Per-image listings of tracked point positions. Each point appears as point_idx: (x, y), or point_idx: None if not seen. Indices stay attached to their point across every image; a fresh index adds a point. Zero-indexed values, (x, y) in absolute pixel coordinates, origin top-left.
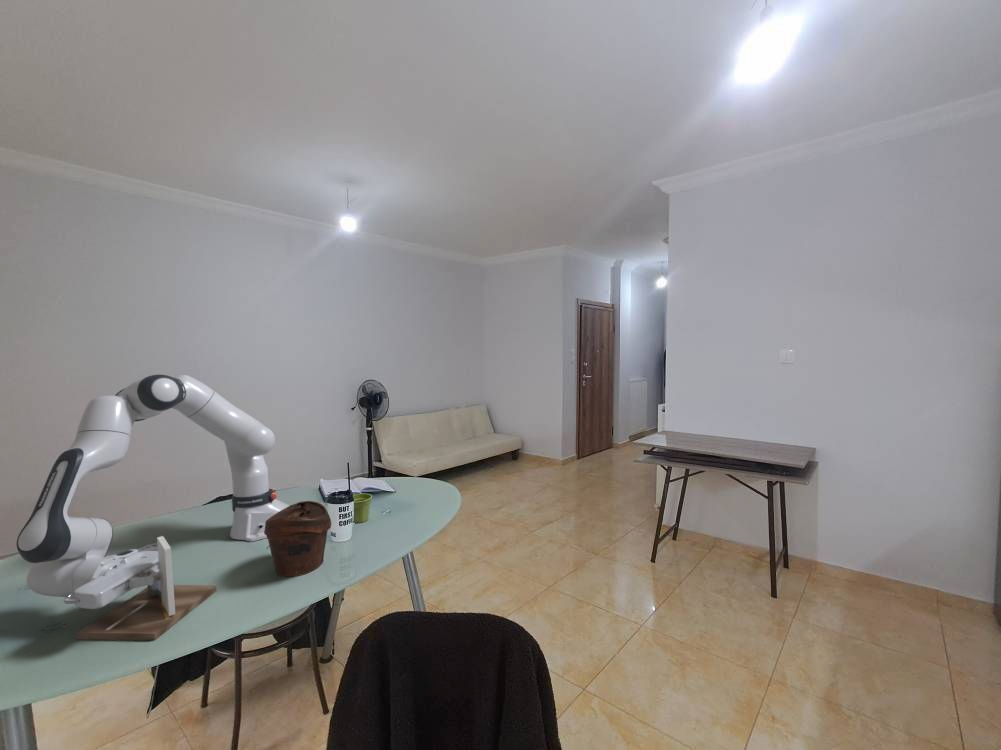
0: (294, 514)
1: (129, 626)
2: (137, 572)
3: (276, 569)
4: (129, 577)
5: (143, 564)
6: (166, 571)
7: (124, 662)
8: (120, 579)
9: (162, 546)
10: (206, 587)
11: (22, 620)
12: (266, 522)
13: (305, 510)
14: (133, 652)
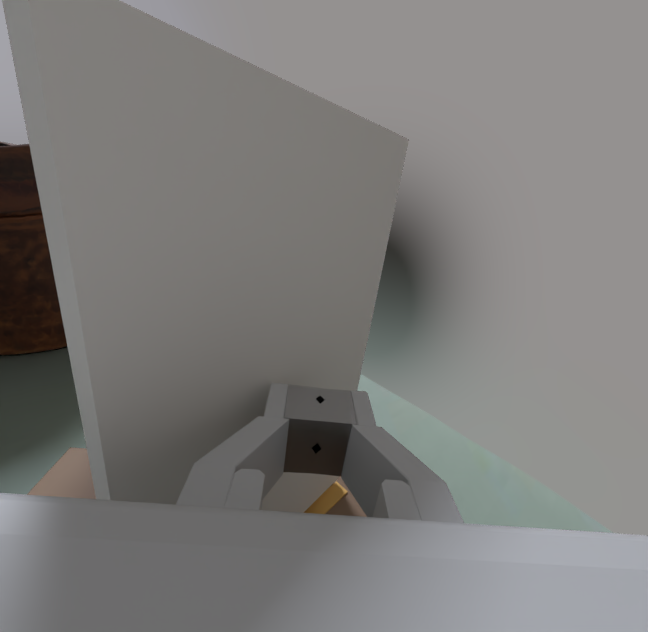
0: (9, 143)
1: None
2: (341, 516)
3: (55, 337)
4: (474, 524)
5: (48, 603)
6: (377, 283)
7: (537, 508)
8: (608, 567)
9: (364, 121)
10: (66, 477)
11: None
12: (25, 150)
13: None
14: (497, 517)
